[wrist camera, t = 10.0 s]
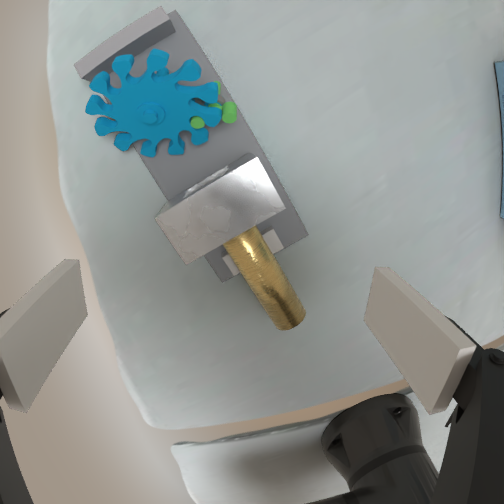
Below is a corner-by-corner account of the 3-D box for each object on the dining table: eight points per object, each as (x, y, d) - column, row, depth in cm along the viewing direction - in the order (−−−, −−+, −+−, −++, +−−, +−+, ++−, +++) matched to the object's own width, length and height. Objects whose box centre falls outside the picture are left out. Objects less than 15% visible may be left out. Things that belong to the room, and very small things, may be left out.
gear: (88, 157, 23) (77, 56, 14) (106, 109, 26) (106, 16, 17) (219, 171, 26) (255, 76, 18) (221, 122, 29) (252, 34, 20)
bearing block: (271, 191, 28) (285, 208, 22) (193, 236, 29) (186, 265, 23) (249, 151, 27) (257, 157, 21) (169, 199, 27) (154, 218, 21)
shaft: (301, 302, 30) (309, 319, 27) (273, 317, 30) (278, 335, 27) (229, 179, 25) (231, 185, 23) (197, 198, 26) (194, 206, 23)
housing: (306, 232, 30) (318, 247, 26) (222, 280, 31) (222, 300, 27) (176, 12, 21) (169, -5, 18) (89, 68, 22) (71, 60, 19)
